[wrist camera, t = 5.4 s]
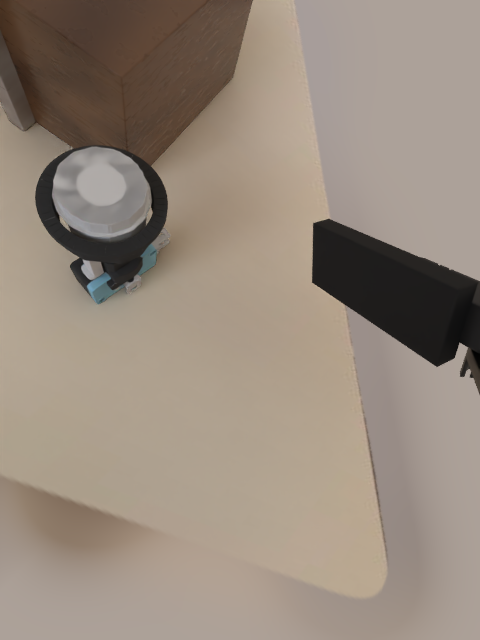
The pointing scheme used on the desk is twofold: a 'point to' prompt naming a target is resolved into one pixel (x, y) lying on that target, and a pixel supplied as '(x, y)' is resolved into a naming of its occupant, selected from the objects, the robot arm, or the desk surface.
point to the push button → (104, 215)
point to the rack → (116, 67)
